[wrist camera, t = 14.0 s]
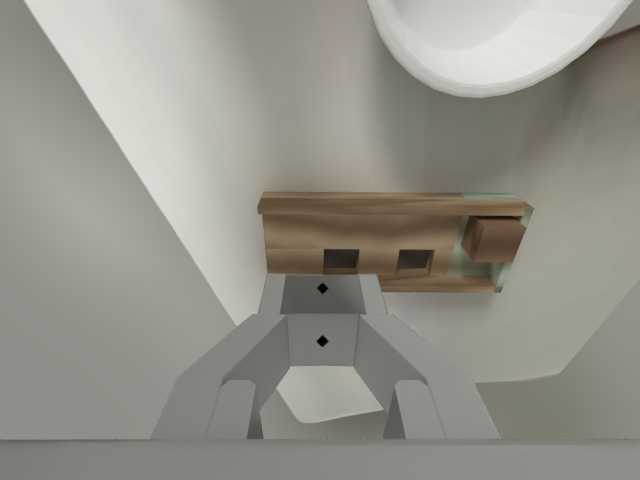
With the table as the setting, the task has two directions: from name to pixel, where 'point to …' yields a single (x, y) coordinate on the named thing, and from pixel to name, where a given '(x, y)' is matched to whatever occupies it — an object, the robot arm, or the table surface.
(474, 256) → the walnut block
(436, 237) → the trap lane
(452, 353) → the table surface
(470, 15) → the bowl
